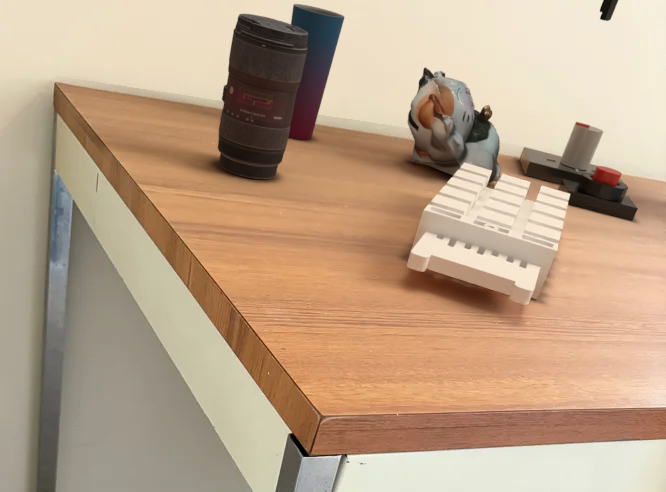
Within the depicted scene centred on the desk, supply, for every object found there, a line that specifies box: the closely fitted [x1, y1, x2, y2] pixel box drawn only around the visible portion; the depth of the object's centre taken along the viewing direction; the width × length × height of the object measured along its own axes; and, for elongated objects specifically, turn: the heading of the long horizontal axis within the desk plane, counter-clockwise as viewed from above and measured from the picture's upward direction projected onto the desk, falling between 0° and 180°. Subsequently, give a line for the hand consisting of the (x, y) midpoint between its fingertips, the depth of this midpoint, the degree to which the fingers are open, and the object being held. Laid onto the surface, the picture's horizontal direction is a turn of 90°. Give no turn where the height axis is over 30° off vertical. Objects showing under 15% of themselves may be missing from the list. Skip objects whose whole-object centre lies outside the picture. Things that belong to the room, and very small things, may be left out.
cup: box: [288, 3, 345, 141], centre depth 111 cm, size 7×7×15 cm
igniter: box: [557, 172, 639, 222], centre depth 117 cm, size 10×7×4 cm
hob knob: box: [560, 121, 604, 170], centre depth 126 cm, size 4×4×6 cm
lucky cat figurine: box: [407, 67, 502, 186], centre depth 112 cm, size 15×12×14 cm
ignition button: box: [592, 165, 623, 185], centre depth 116 cm, size 4×4×2 cm
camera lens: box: [217, 13, 308, 180], centre depth 91 cm, size 8×8×15 cm
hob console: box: [519, 146, 625, 185], centre depth 129 cm, size 15×11×2 cm
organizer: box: [406, 162, 570, 306], centre depth 87 cm, size 13×5×35 cm
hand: (636, 29), depth 116 cm, fingers open, 9 cm apart
